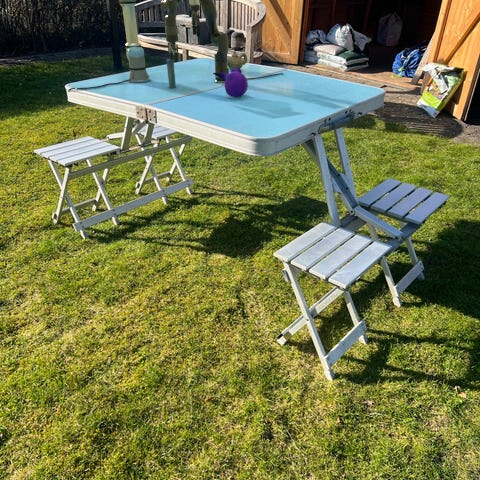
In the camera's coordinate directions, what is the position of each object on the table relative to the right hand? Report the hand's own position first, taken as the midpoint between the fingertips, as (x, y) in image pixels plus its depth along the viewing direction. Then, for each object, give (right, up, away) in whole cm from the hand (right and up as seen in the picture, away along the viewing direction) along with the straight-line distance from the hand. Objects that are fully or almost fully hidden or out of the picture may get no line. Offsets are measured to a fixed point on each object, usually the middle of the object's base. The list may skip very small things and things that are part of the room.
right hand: (173, 60), depth 294 cm
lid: (-5, +6, +14) cm, 16 cm away
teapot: (+40, +22, +75) cm, 88 cm away
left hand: (+10, +41, +55) cm, 69 cm away
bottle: (-4, -10, +23) cm, 25 cm away
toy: (+38, -24, -2) cm, 45 cm away
